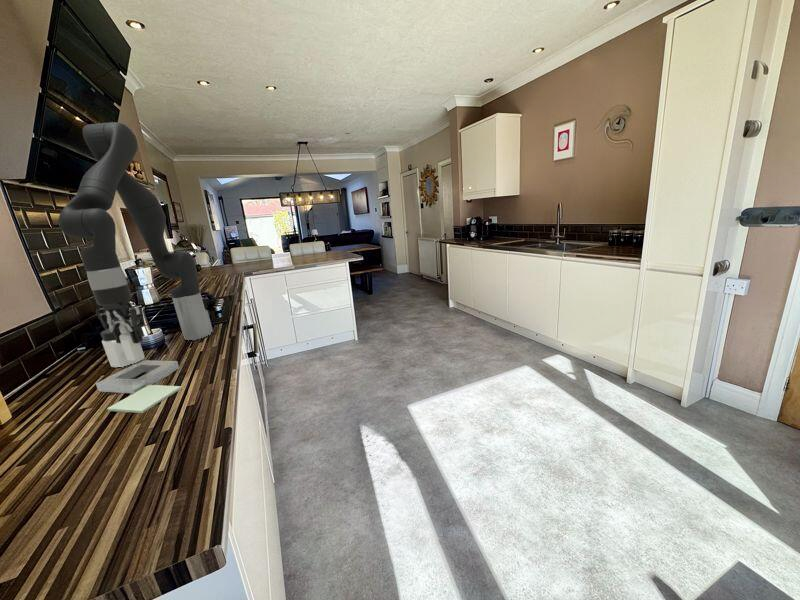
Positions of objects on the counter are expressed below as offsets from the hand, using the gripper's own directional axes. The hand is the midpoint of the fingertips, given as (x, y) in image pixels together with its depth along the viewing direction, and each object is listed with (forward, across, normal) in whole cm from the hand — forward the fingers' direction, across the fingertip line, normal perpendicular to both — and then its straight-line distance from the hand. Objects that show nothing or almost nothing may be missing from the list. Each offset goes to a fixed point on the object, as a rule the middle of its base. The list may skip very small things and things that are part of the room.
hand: (129, 342), depth 92 cm
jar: (+12, +18, -10) cm, 24 cm away
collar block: (+12, 0, +1) cm, 12 cm away
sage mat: (+12, -13, +10) cm, 20 cm away
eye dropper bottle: (+6, 0, 0) cm, 6 cm away
